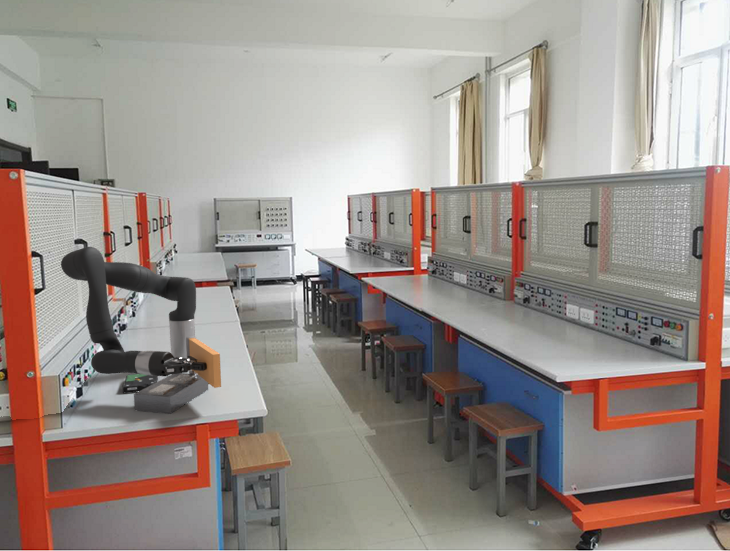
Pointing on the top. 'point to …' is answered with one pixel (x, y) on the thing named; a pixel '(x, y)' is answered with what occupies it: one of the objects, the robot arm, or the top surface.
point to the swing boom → (205, 360)
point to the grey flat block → (170, 393)
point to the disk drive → (138, 382)
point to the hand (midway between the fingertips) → (205, 366)
